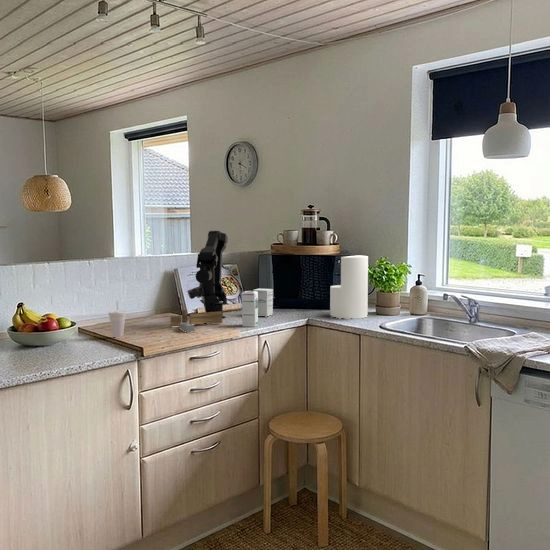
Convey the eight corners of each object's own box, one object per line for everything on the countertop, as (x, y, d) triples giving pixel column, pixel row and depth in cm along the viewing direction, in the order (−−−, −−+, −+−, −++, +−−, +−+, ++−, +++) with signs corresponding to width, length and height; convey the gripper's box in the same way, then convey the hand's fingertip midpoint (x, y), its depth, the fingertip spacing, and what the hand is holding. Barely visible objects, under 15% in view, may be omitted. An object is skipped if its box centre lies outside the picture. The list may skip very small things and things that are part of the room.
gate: (189, 324, 237) (189, 313, 237) (220, 322, 243) (220, 311, 242) (190, 325, 235) (190, 314, 235) (222, 323, 241) (222, 311, 241)
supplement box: (252, 316, 262) (252, 289, 261) (259, 314, 269) (259, 288, 268) (267, 317, 259) (267, 290, 258) (273, 315, 266) (273, 288, 265)
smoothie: (111, 339, 208) (110, 302, 207) (107, 336, 214) (106, 300, 212) (128, 338, 211) (127, 301, 210) (124, 335, 217) (123, 299, 215)
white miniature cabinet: (255, 327, 234) (255, 292, 233) (241, 326, 235) (241, 292, 234) (258, 324, 240) (258, 290, 239) (245, 324, 241) (245, 290, 240)
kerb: (179, 329, 229) (179, 322, 229) (186, 328, 230) (186, 322, 230) (186, 333, 221) (186, 325, 221) (194, 332, 222) (193, 325, 222)
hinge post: (170, 327, 233) (170, 310, 233) (186, 326, 237) (186, 309, 236) (172, 328, 232) (171, 311, 231) (188, 326, 235) (188, 310, 234)
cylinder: (373, 315, 265) (374, 255, 262) (358, 320, 250) (358, 257, 248) (340, 312, 274) (340, 255, 272) (323, 317, 259) (323, 256, 257)
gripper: (185, 278, 246) (185, 314, 248) (192, 283, 228) (192, 321, 230) (210, 278, 250) (210, 312, 251) (219, 283, 232) (219, 320, 234)
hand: (207, 316), depth 241 cm, fingers closed
